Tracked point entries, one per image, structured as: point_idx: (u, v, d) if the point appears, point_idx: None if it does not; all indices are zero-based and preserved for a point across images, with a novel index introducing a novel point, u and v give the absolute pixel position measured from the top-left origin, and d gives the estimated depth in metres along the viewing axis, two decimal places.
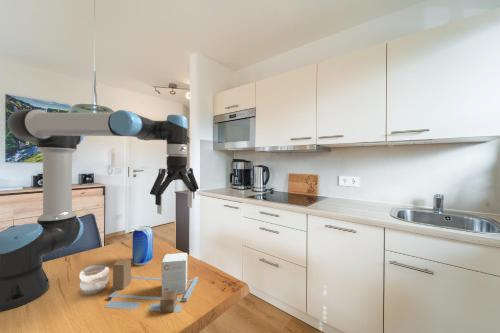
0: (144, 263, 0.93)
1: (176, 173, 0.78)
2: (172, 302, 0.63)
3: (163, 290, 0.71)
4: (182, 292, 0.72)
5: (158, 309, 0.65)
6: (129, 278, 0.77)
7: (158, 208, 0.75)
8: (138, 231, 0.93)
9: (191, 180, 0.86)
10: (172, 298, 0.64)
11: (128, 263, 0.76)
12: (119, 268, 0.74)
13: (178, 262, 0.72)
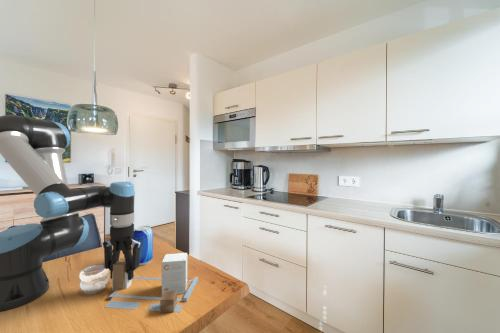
0: (144, 263, 0.93)
1: (114, 244, 0.74)
2: (172, 302, 0.63)
3: (163, 290, 0.71)
4: (182, 292, 0.72)
5: (158, 309, 0.65)
6: None
7: None
8: (138, 231, 0.93)
9: None
10: (172, 298, 0.64)
11: None
12: (119, 268, 0.74)
13: (178, 262, 0.72)
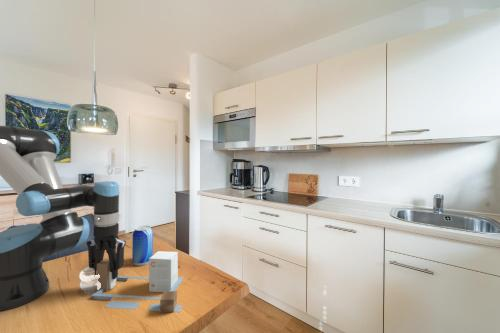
0: (144, 263, 0.93)
1: (98, 244, 0.74)
2: (172, 302, 0.63)
3: (150, 286, 0.73)
4: (167, 291, 0.73)
5: (158, 309, 0.65)
6: None
7: None
8: (138, 231, 0.93)
9: None
10: (172, 298, 0.64)
11: None
12: (103, 267, 0.74)
13: (164, 260, 0.73)
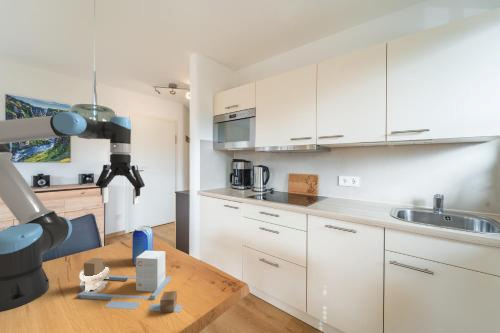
0: None
1: (113, 169, 0.87)
2: (172, 302, 0.63)
3: (137, 285, 0.74)
4: (154, 290, 0.73)
5: (158, 309, 0.65)
6: None
7: None
8: (138, 231, 0.93)
9: None
10: (172, 298, 0.64)
11: (100, 262, 0.77)
12: (90, 266, 0.74)
13: (151, 259, 0.73)
